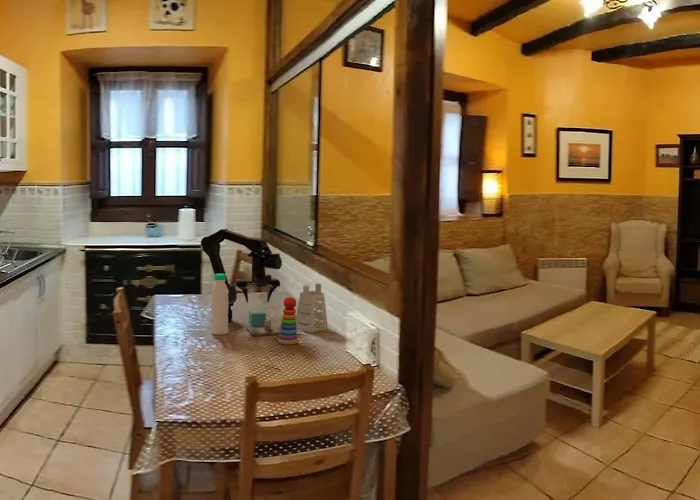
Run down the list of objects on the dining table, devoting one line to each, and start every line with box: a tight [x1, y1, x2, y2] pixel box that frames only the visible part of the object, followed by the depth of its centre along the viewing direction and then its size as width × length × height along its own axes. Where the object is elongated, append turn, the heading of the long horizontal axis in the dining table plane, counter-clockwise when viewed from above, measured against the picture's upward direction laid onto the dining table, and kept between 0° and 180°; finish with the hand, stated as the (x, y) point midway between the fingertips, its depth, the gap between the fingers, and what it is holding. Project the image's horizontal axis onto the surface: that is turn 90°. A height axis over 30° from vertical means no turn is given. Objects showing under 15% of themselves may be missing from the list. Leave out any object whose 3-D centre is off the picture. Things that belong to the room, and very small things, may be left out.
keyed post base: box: [245, 318, 281, 337], centre depth 265 cm, size 16×12×5 cm
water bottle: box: [210, 274, 229, 336], centre depth 259 cm, size 7×7×25 cm
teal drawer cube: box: [248, 309, 267, 327], centre depth 276 cm, size 6×6×6 cm
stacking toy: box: [277, 296, 299, 346], centre depth 248 cm, size 8×8×19 cm
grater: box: [295, 282, 329, 333], centre depth 273 cm, size 10×10×20 cm
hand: (257, 302), depth 275 cm, fingers open, 9 cm apart
